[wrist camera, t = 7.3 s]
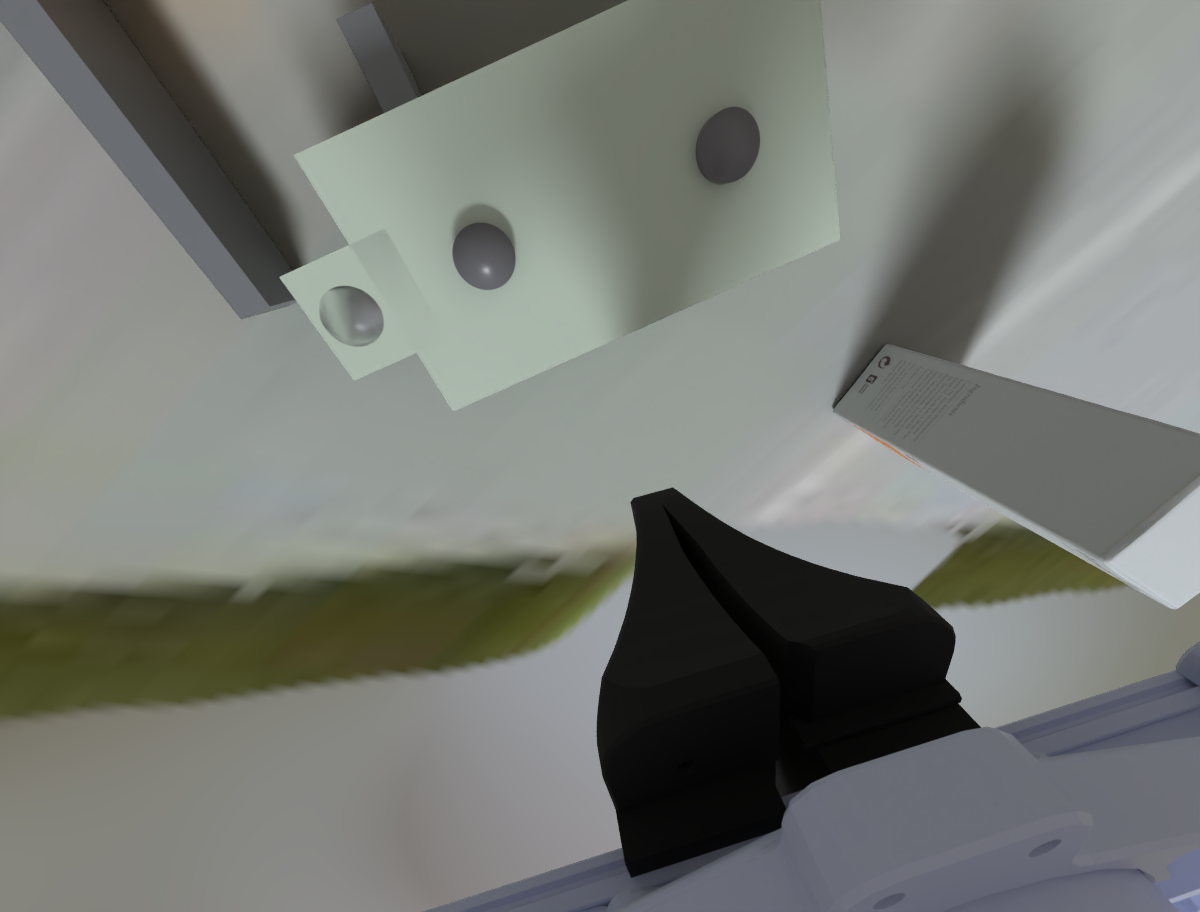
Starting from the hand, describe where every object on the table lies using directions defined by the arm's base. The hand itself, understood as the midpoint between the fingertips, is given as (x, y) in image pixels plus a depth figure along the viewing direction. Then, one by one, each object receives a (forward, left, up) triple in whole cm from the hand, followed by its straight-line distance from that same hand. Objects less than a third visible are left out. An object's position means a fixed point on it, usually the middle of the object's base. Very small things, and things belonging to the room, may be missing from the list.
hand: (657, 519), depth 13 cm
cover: (+1, +8, -8) cm, 12 cm away
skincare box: (+14, -6, -9) cm, 18 cm away
